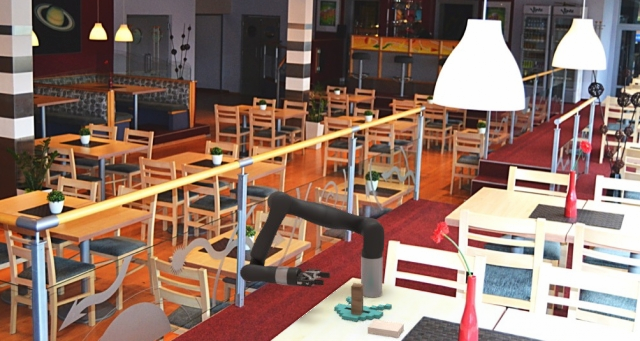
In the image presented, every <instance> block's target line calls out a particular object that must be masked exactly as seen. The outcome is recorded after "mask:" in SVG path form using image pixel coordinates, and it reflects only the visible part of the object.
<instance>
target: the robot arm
mask: <svg viewBox="0 0 640 341" xmlns="http://www.w3.org/2000/svg"><path fill="white" fill-rule="evenodd" d="M266 203H267V205H268V206H267V207H268V208H269V211H268V215H267V218H266V220H265V222H264V224H263V226H262V227H261V229H260V230H259V233H258V234H257V236H256V238H255V240H254V243H253V245H252V248H251V250H250V253H249V256H250V261H249V263H248V264H245V265H243V266H242V267H241V268H240V272H239V275H240V277H241V279H242V280H244V281H245V282H251V283H255V282H260V283H261V282H262V283H266V284H274V285H275V284H276V285H283V286H293V287H299V286H300V287H306V288H311V287H312V286H324V285H325V281H324V279H330V277H331V273H330V272H328V271H322V269H320V268H319V269H317V268H306V271H303V270H302V268H301V267H298V266H285V265H283V266H275V265H274V266H273V265H265V264H266V259H267V257H268V254H269V252H270V250H271V248H272V245H273V243H274V240H275V238H276V235H277V233H278V231H279V229H280V227H281V225H282V223H283V221H284V220H285V217H286V216H287V215H289V216H294V217H297V218H300V219H303V220H304V221H306V222H309V223H311V224H314V225H317V226H319V227H323V228H326V229H331V230H345V231H350V232H352V233H355V234H358V235H360V236H362V237H363V238H362V240H363V241H362V249H361V252H360V253H361V254H360V258H361V259H360V262H361V263H360V284H363V297H366V298H377V297H380V296H382V295H383V259H384V256H383V253H384V249H385V238H386V237H385V228H384V226H383V225H382V224H381V222H379V220H377V219H375V218H374V217H368V216H362V215H357V214H353V213H350V212H348V211H346V210H343V209H340V208H337V207H334V206H332V205H328V204H324V203H320V202H314V201H309V200H304V199H300V198H297V197H294V196H292V195H290V194H288V193H287V192H284V191H280V190H277V191H274V192H271V194H270V195H269V196H268V198H267V201H266ZM320 278H322V279H320Z"/></svg>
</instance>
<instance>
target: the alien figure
mask: <svg viewBox="0 0 640 341" xmlns="http://www.w3.org/2000/svg"><path fill="white" fill-rule="evenodd" d="M346 301H347V302H346ZM345 302H346V303H348V304H345V303H344V304H343V303H338V304H336V305H335V306H333V309H334V311H335V312H336V314H337V315H338V316H339V317H341V320H343V321H350V322H355V323H357V322H359V321H361V322H366V320H367V321H368V320H369V321H373V320H374V319H375V320H380V319H381V318H382V317H383V316H384V310H388V311H390V310H392V308H393V305H392V304H390V303H385V304H378V305H373V304H372V305H371V306H366V305H363V313H362V314H361V315H352V314H351V305H349V304H351V296H347V297H345Z"/></svg>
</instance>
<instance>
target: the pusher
mask: <svg viewBox="0 0 640 341" xmlns="http://www.w3.org/2000/svg"><path fill="white" fill-rule="evenodd" d="M350 295H351V296H350V297H351V305H350V306H351V314H352V315H361V314H362V313H363V306H364V296H363V284H361V282H353V283H352V285H351V286H350Z"/></svg>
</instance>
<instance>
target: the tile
mask: <svg viewBox="0 0 640 341" xmlns="http://www.w3.org/2000/svg"><path fill="white" fill-rule="evenodd" d="M404 324H405V323H401V322H393V321H389V320H388V321H386V320H380V319H375V318H374V319H372V322H371V323H370V324H369V325H368V326H367V334H369V335H370V334H371V335H376V336H383V337H390V338H396V339H397V338H399V337H400V335H401V334H402V333H403V332H404V328H405V327H404V326H405V325H404ZM402 331H403V332H402Z"/></svg>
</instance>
